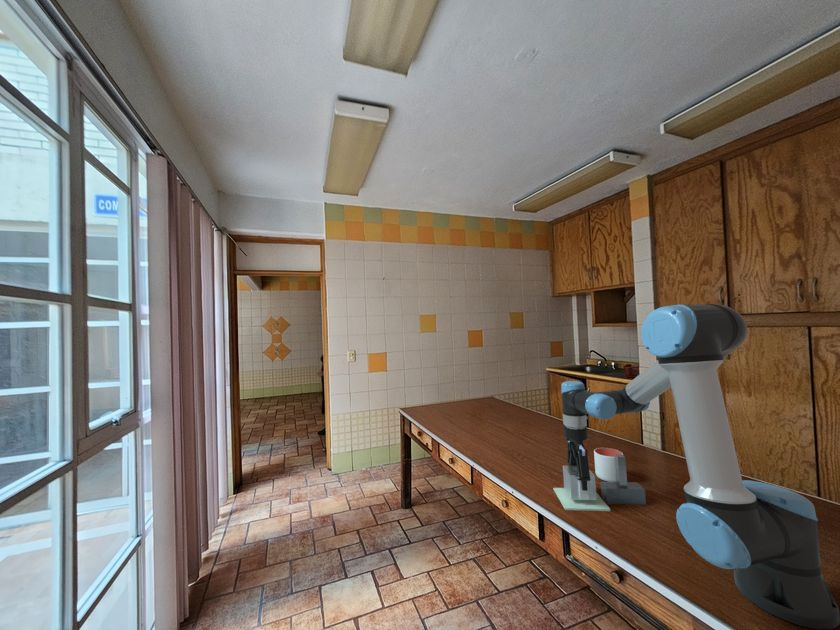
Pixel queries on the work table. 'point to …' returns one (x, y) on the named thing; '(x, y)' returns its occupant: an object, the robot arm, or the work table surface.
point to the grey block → (622, 487)
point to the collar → (577, 483)
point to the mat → (580, 502)
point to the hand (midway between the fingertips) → (579, 492)
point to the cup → (605, 463)
